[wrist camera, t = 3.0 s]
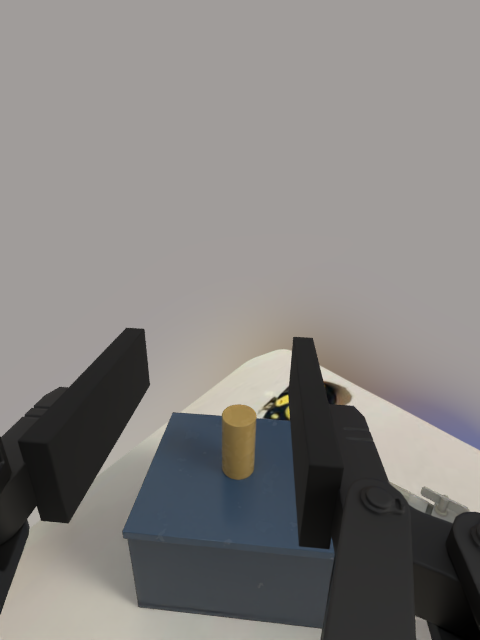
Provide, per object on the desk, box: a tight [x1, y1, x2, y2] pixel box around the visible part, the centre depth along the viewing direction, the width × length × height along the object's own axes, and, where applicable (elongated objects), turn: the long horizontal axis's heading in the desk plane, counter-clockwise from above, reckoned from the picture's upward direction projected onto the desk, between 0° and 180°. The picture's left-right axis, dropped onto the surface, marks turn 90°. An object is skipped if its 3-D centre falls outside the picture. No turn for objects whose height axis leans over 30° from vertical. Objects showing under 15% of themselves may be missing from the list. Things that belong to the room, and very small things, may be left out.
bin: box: [128, 539, 334, 628], centre depth 34 cm, size 16×14×9 cm
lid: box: [122, 405, 335, 560], centre depth 31 cm, size 16×14×7 cm
